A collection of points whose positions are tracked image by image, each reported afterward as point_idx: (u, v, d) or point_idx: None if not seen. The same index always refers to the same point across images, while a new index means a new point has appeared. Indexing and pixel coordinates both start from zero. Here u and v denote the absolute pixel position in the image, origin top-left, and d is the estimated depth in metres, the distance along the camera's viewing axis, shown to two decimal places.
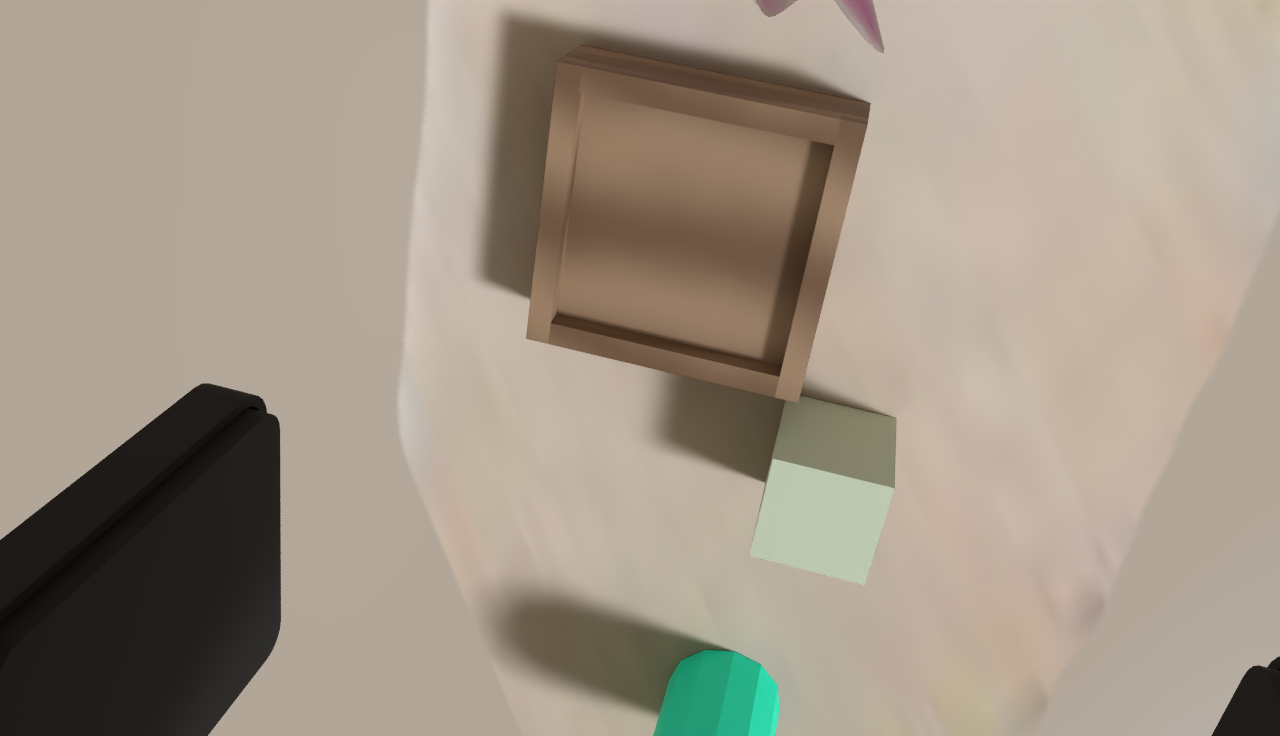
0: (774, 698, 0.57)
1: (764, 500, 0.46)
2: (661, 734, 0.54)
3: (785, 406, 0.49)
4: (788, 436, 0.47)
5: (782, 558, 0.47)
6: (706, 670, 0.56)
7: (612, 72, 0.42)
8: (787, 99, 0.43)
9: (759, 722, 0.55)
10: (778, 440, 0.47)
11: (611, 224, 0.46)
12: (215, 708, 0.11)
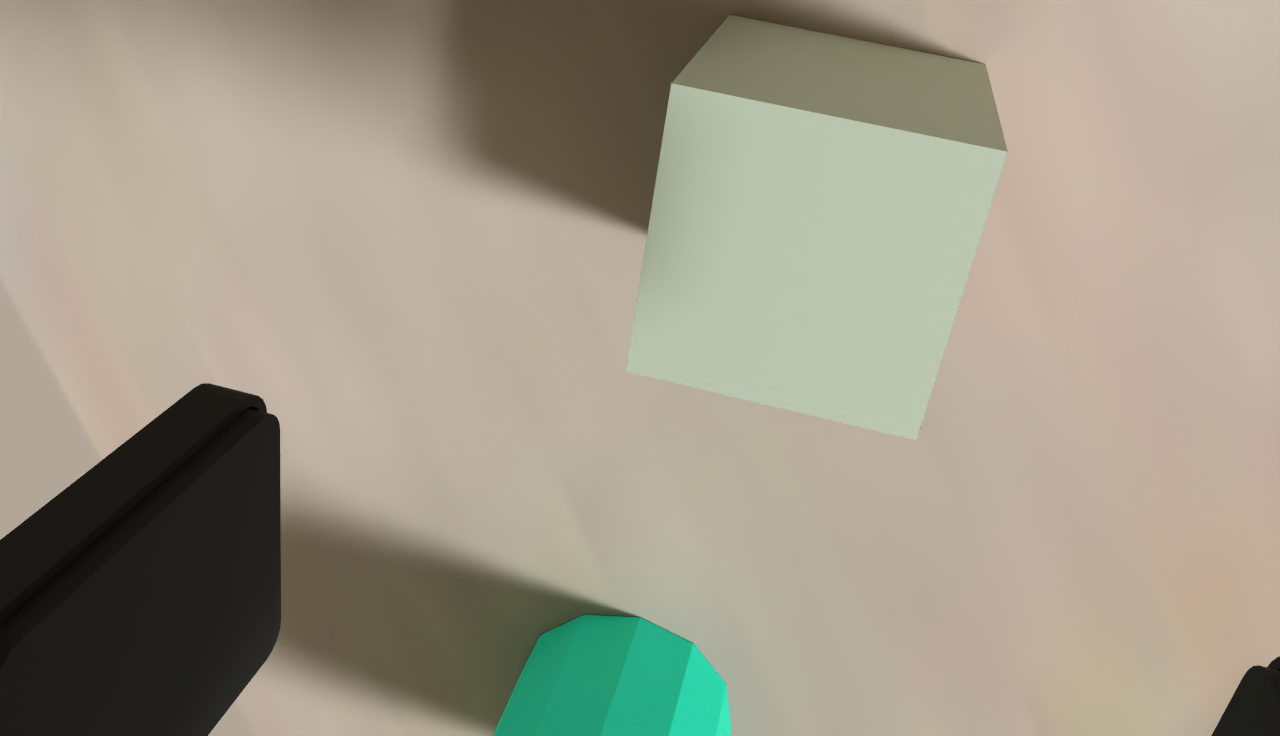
0: (718, 710, 0.29)
1: (655, 213, 0.18)
2: None
3: (721, 27, 0.21)
4: (722, 60, 0.18)
5: (707, 375, 0.19)
6: (580, 655, 0.28)
7: None
8: None
9: None
10: (693, 62, 0.18)
11: None
12: (215, 708, 0.11)
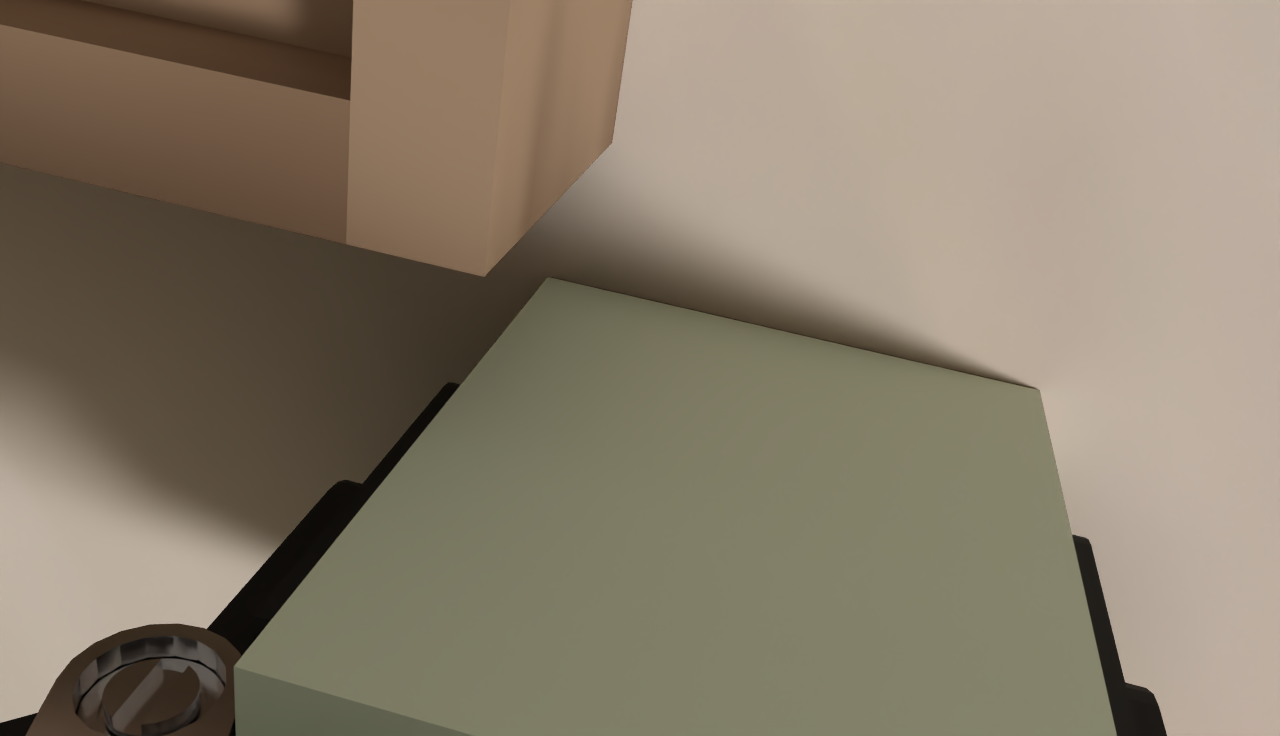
0: None
1: None
2: None
3: (509, 332, 0.10)
4: (451, 488, 0.08)
5: None
6: None
7: None
8: None
9: None
10: (365, 516, 0.07)
11: None
12: None
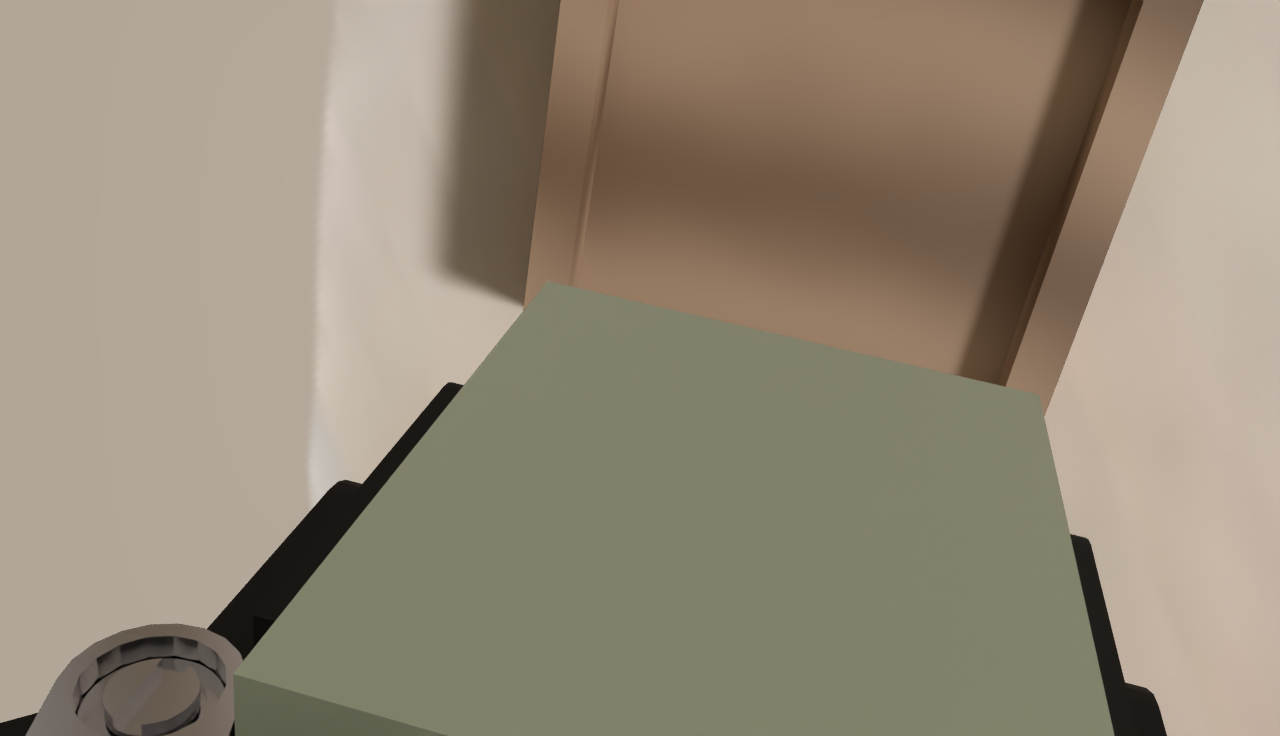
0: None
1: None
2: None
3: (509, 336, 0.10)
4: (450, 494, 0.08)
5: None
6: None
7: None
8: None
9: None
10: (365, 522, 0.07)
11: (674, 168, 0.25)
12: None
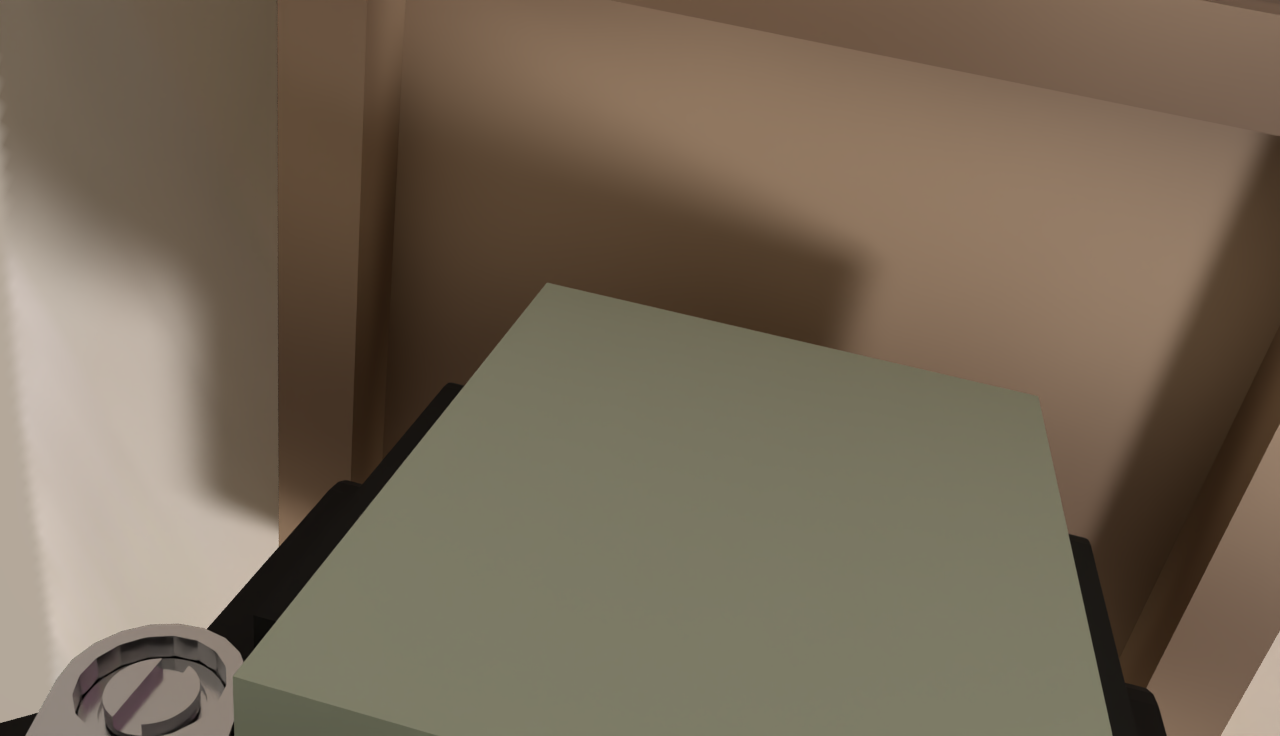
0: None
1: None
2: None
3: (508, 338, 0.10)
4: (448, 495, 0.08)
5: None
6: None
7: None
8: None
9: None
10: (364, 525, 0.07)
11: None
12: None
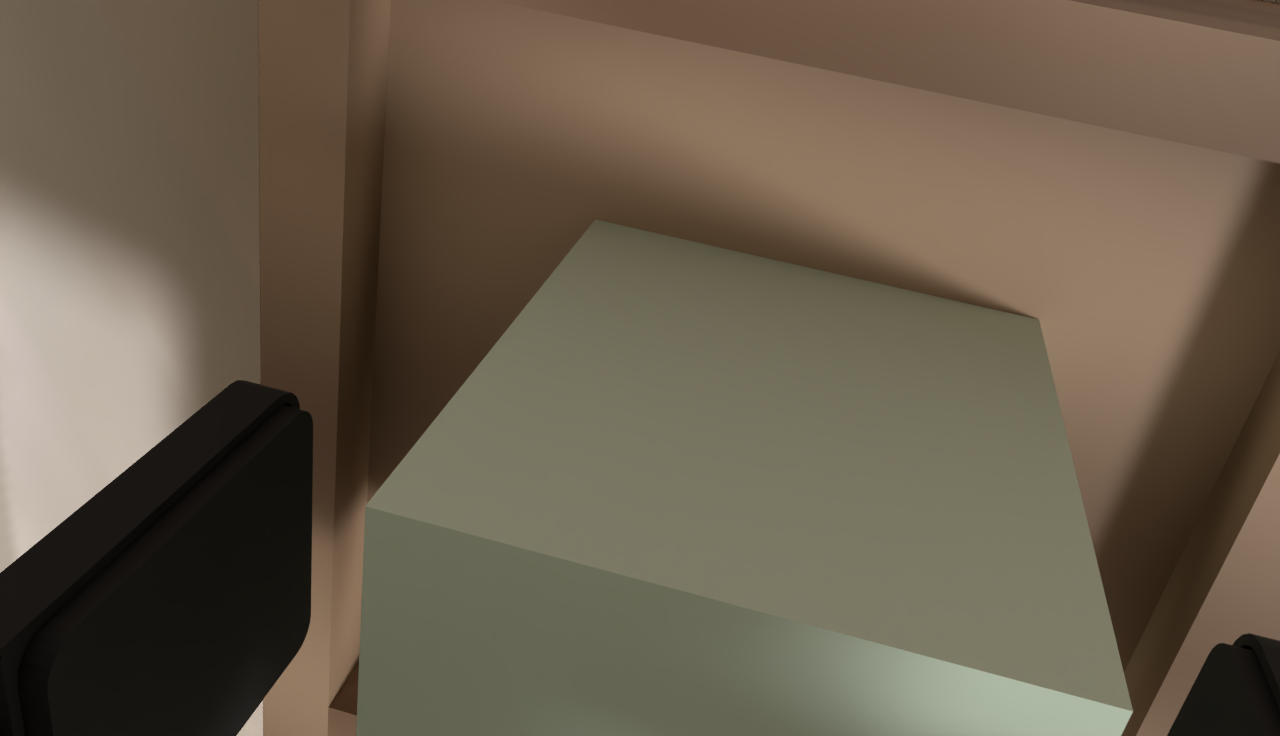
0: None
1: (366, 732, 0.08)
2: None
3: (565, 263, 0.11)
4: (529, 383, 0.09)
5: None
6: None
7: None
8: (1171, 3, 0.11)
9: None
10: (458, 401, 0.09)
11: None
12: (249, 701, 0.11)
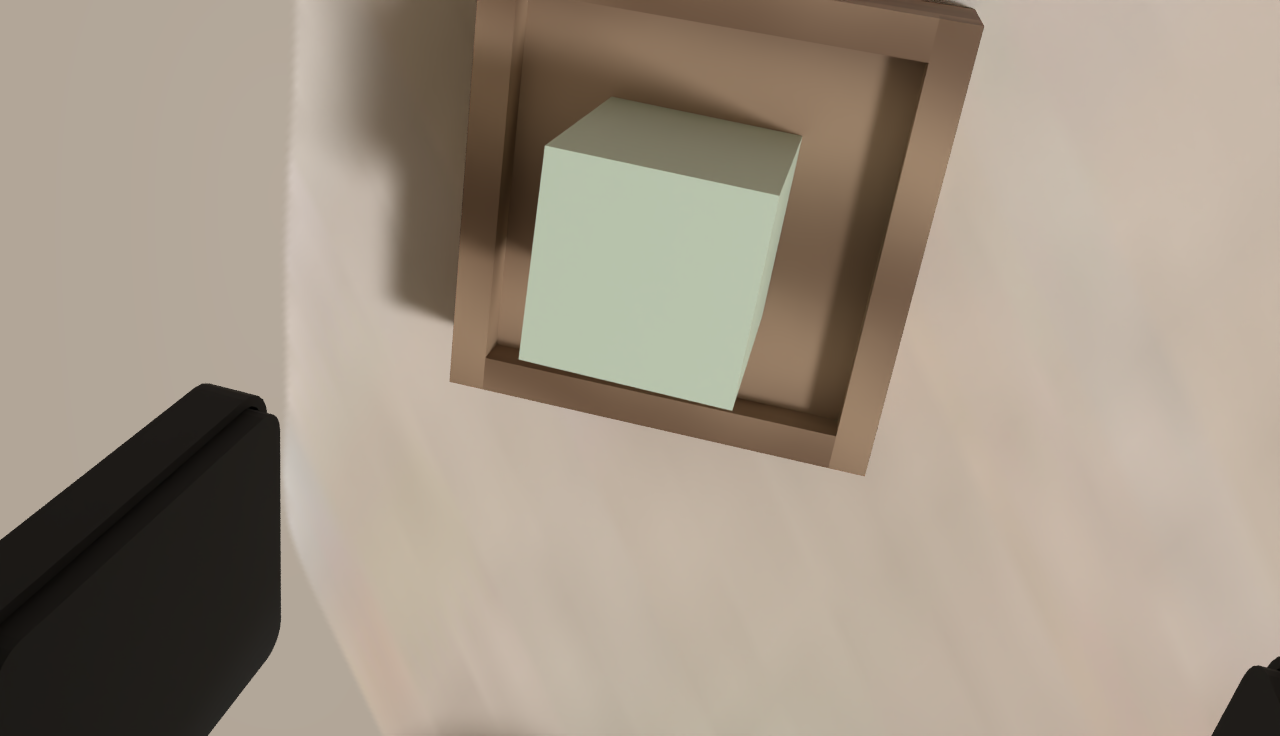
0: None
1: (536, 240, 0.24)
2: None
3: (600, 106, 0.27)
4: (591, 130, 0.25)
5: (578, 362, 0.25)
6: None
7: None
8: None
9: None
10: (567, 131, 0.25)
11: None
12: (215, 708, 0.11)
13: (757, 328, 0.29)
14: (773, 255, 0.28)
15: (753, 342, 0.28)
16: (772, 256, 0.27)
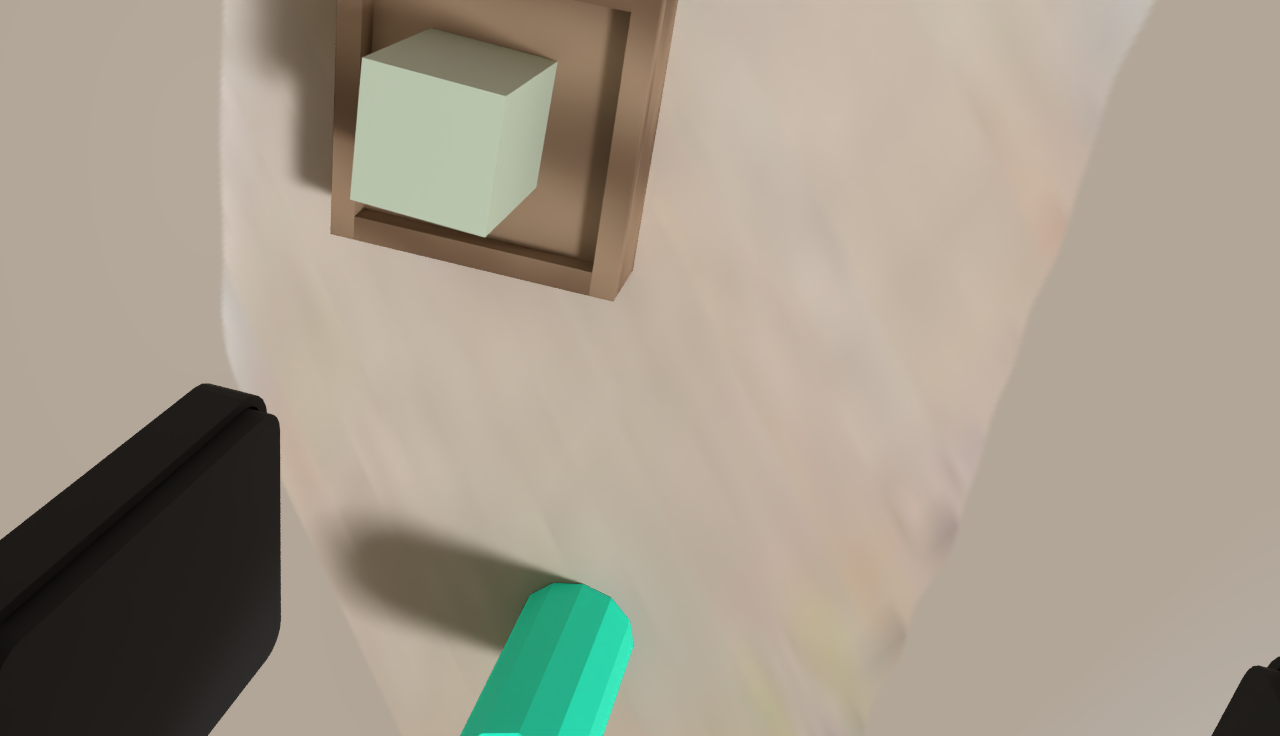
0: (624, 632, 0.54)
1: (359, 119, 0.37)
2: (494, 667, 0.51)
3: (418, 34, 0.40)
4: (400, 49, 0.38)
5: (388, 202, 0.38)
6: (550, 602, 0.54)
7: None
8: None
9: (600, 654, 0.52)
10: (383, 49, 0.38)
11: None
12: (215, 708, 0.11)
13: (525, 192, 0.42)
14: (532, 141, 0.41)
15: (520, 201, 0.42)
16: (529, 141, 0.40)
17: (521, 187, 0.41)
